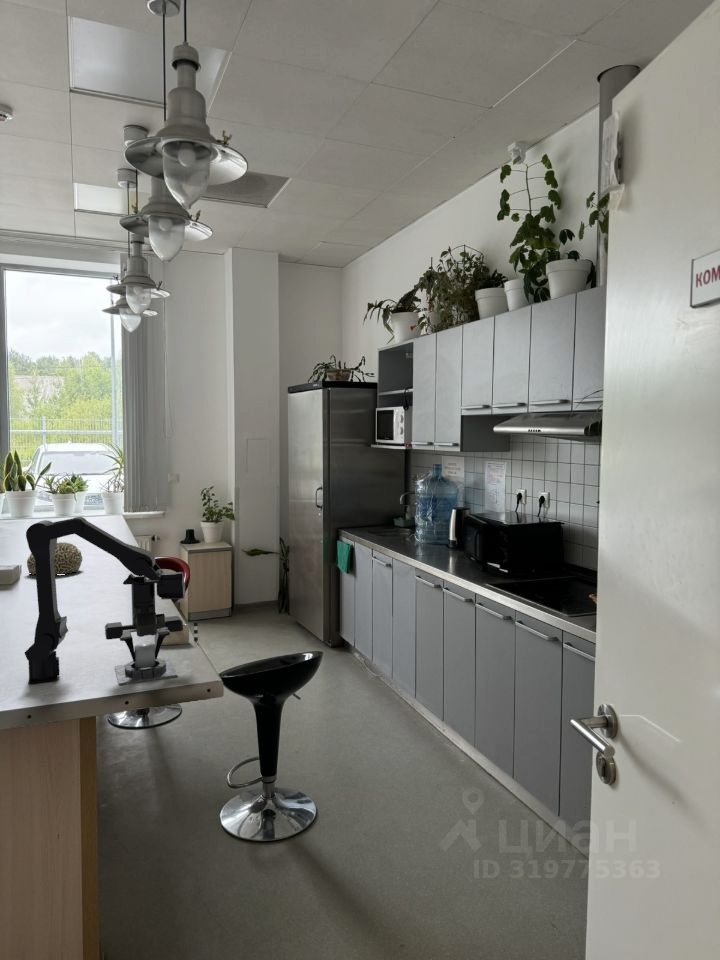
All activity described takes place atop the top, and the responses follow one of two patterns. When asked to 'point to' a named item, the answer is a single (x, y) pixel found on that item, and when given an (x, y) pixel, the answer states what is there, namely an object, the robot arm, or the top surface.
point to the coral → (61, 559)
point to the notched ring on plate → (145, 672)
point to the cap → (144, 655)
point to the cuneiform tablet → (181, 636)
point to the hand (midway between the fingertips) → (145, 660)
